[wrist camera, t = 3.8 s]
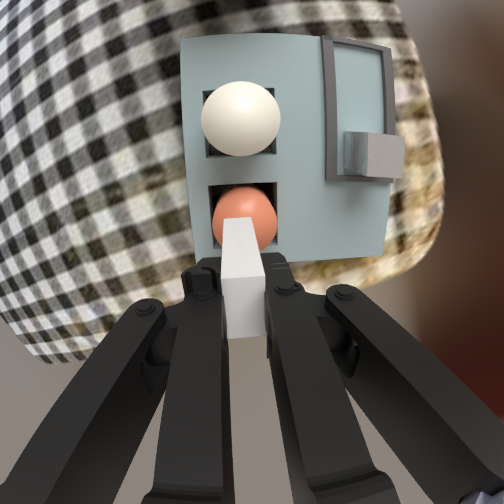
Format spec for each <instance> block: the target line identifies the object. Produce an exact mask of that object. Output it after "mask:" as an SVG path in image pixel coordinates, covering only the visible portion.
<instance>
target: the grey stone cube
mask: <svg viewBox="0 0 504 504" xmlns="http://www.w3.org/2000/svg"><path fill="white" fill-rule="evenodd" d="M404 148H405V137H401V136H395V135H387V134H379V133H371V132H353V131H344V168H346V169H349V170H352V171H354V172H357V173H359V174H362V175H365V176H368V177H387V178H403V169H404Z"/></svg>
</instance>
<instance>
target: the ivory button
mask: <svg viewBox="0 0 504 504" xmlns="http://www.w3.org/2000/svg"><path fill="white" fill-rule="evenodd" d="M280 121H281V116H280V110H279V107H278V104H277V102H276V100H275V99H274V97H273V96H272V95H271V94H270V93H269V92H268V91H267V90H266V89H264V88H263V87H261V86H259V85H257V84H254V83H251V82H244V81H238V82H232V83H228V84H225V85H223V86H221V87H219V88H218V89H216V90H215V91H214V92H213V93H212V94H211V95H210V96H209V97H208V99H207V100H206V102H205V104H204V106H203V109H202V113H201V126H202V130H203V132H204V135H205V137H206V138H207V140H208V141H209V142H210V144H211V145H212V146H214V147H215V148H216V149H217V150H219V151H221V152H223V153H225V154H228V155H232V156H249V155H253V154H256V153H258V152H260V151H262V150H263V149H265V148H266V147H267V146H269V145H270V144H271V142H272V141H273V140H274V138H275V137H276V135H277V133H278V130H279V127H280Z"/></svg>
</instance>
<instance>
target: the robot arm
mask: <svg viewBox="0 0 504 504" xmlns="http://www.w3.org/2000/svg"><path fill="white" fill-rule="evenodd" d="M181 278H182V284H183V289H184V295H185V297H184V301H183V302H180V303H178V304H175V305H172V306H168V307H164V306H163V303H162V302H161V301H160V300H157V299H154V298H147V299H142V300H139V301H137V302H135V303H133V304H132V305H131V306H130V307H129V308H128V309H127V310H126V312H125V313H124V314H123V315H122V316H121V318H120V319H119V320H118V321H117V323H116V324H115V325H114V326H113V327H112V329H111V330H110V331H109V332H108V334H107V335H106V336H105V337H104V339H103V340H102V341H101V342H100V344H99V345H98V346H97V347H96V349H95V350H94V351H93V353H92V354H91V355H90V356H89V358H88V359H87V360H86V362H85V363H84V364H83V366H82V367H81V368H80V370H79V371H78V372H77V373H76V375H75V376H74V377H73V379H72V380H71V382H70V383H69V384H68V386H67V387H66V389H65V390H64V391H63V393H62V394H61V395H60V397H59V398H58V400H57V401H56V402H55V404H54V405H53V407H52V408H51V409H50V411H49V412H48V414H47V415H46V417H45V418H44V420H43V421H42V423H41V424H40V426H39V427H38V429H37V430H36V432H35V433H34V435H33V437H32V438H31V439H30V441H29V443H28V444H27V446H26V447H25V449H24V450H23V452H22V454H21V455H20V457H19V459H18V461H17V462H16V464H15V465H14V467H13V469H12V471H11V472H10V474H9V476H8V477H7V479H6V481H5V482H4V483H3V484H1V485H0V504H113V502H114V500H115V497H116V495H117V493H118V491H119V488H120V486H121V484H122V482H123V480H124V477H125V475H126V473H127V471H128V469H129V467H130V464H131V462H132V460H133V458H134V456H135V454H136V451H137V449H138V447H139V445H140V443H141V441H142V439H143V436H144V434H145V432H146V430H147V428H148V426H149V424H150V422H151V419H152V417H153V415H154V413H155V411H156V409H157V407H158V405H159V403H160V401H161V398H162V396H163V394H164V392H165V390H166V392H165V399H164V405H163V411H162V418H161V425H160V431H159V439H158V446H157V454H156V462H155V463H156V464H155V471H154V481H153V487H152V489H151V491H150V492H149V493H148V494H146V495H145V496H144V498H143V500H142V502H141V504H235V491H234V475H233V457H232V437H231V415H230V414H231V413H230V387H229V386H230V384H229V348H228V340H227V338H228V339H229V338H245V337H258V336H266V333H267V358H269V361H270V367H271V373H272V378H273V384H274V390H275V396H276V402H277V408H278V414H279V420H280V426H281V431H282V437H283V444H284V449H285V455H286V461H287V467H288V473H289V479H290V484H291V491H292V496H293V502H294V504H401V503H400V501H399V498H398V495H397V492H396V489H395V486H394V484H393V482H392V480H391V478H390V477H389V476H388V475H387V474H386V473H384V472H382V471H379V470H377V469H376V468H375V466H374V464H373V462H372V459H371V456H370V454H369V451H368V448H367V445H366V442H365V439H364V437H363V434H362V431H361V429H360V426H359V423H358V421H357V418H356V415H355V413H354V410H353V408H352V405H351V402H350V399H349V397H348V394H347V392H346V389H347V390H348V392H349V393H350V395H351V396H352V397H353V398H354V400H355V401H356V403H357V404H358V405H359V407H360V408H361V409H362V410H363V412H364V413H365V415H366V416H367V417H368V418H369V420H370V421H371V423H372V424H373V425H374V426H375V428H376V429H377V430H378V432H379V433H380V434H381V436H382V437H383V438H384V440H385V441H386V442H387V444H388V445H389V446H390V448H391V449H392V450H393V452H394V453H395V454H396V456H397V457H398V458H399V460H400V461H401V462H402V464H403V465H404V466H405V467H406V469H407V470H408V471H409V473H410V474H411V475H412V477H413V478H414V479H415V481H416V482H417V483H418V484H419V486H420V487H421V488H422V490H423V491H424V492H425V494H426V495H427V496H428V497H429V498H430V499H431V500H432V502H433V503H434V504H504V424H503V423H502V422H501V421H500V420H499V419H498V418H497V417H496V416H495V415H494V414H493V413H492V412H491V411H490V409H488V407H486V405H485V404H484V403H483V402H482V401H481V400H480V399H478V397H477V396H476V395H475V394H474V393H473V392H472V391H471V390H469V389H468V387H466V386H465V385H464V384H463V383H462V382H461V381H460V380H459V379H458V378H457V377H456V376H455V375H454V374H453V373H452V372H451V371H450V370H449V369H448V368H447V367H445V365H443V364H442V363H441V362H440V361H439V360H438V359H437V358H436V357H435V356H434V355H433V354H432V353H431V352H429V351H428V350H427V349H426V348H425V347H424V346H423V345H422V344H421V343H420V342H419V341H417V340H416V339H415V338H414V337H413V336H412V335H411V334H410V333H409V332H407V331H406V330H405V329H404V328H403V327H402V326H401V325H400V324H398V323H397V322H396V321H395V320H394V319H393V318H392V317H390V316H389V315H388V314H387V313H386V312H385V311H383V310H382V309H381V308H380V307H379V306H378V305H377V304H375V303H374V302H373V301H371V299H369V298H368V297H367V296H366V295H365V294H364V293H362V292H361V291H360V290H359V289H357V288H356V287H353V286H350V285H347V284H345V285H344V284H339V285H334V286H331V287H329V288H328V289H327V291H326V295H317V294H310V293H307V292H305V290H304V287H303V286H302V285H301V284H300V283H298V282H296V281H295V280H294V277H293V275H292V273H291V270H290V268H289V265H288V263H287V261H286V258H285V256H283V255H282V254H281V253H279V252H270V253H260V252H259V248H258V244H257V240H256V235H255V231H254V227H253V223H252V219H251V217H241V218H226V219H224V226H223V244H222V256H221V257H206V258H202V259H201V260H200V261H199V262H197V265H196V266H194V267H191V268H188V269H187V270H185V271H184V272H183V273H182V274H181ZM345 388H346V389H345Z"/></svg>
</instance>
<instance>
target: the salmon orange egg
mask: <svg viewBox="0 0 504 504" xmlns="http://www.w3.org/2000/svg"><path fill="white" fill-rule="evenodd" d="M241 217H251V219H252V223H253V227H254V231H255V235H256V240H257V244H258V248H259V251H261V250H263V249H264V248H266V247H267V246H268V245H269V244H270V243H271V241H272V240H273V238H274V236H275V234H276V231H277V217H276V214H275V211H274V209H273V207H272V205H271V203H270V201H269V199H268V197H267V195H266V194H265V192H264V191H263V190H262V189H260V188H259V187H257V186H256V185H253V184H250V183H241V184H234V185H231V186H230V187H228V188H227V189H225V190H224V191H223V192H222V194H221V195H220V197H219V199H218V201H217V205H216V209H215V212H214V216H213V222H212V228H213V232H214V235H215V238H216V239H217V241H218V242H219V244H220V245H221V246H222V244H223V226H224V219H226V218H241Z"/></svg>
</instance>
